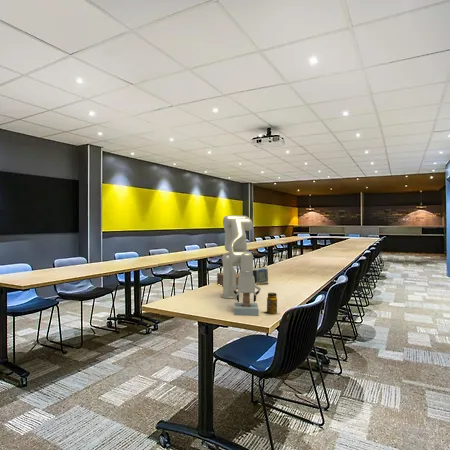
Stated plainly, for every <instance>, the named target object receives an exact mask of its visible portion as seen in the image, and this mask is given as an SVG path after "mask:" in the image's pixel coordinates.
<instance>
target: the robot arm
mask: <svg viewBox="0 0 450 450" xmlns="http://www.w3.org/2000/svg"><path fill="white" fill-rule="evenodd" d="M253 223H254V222H253V221H252V219H251V218H250V217H248V216H247V215H225V216H224V217H223V219H222V226H223V229H224V249H225V251H226V252H227V253H225V254H224V253H223V255H222V258H221V260H222V273H223V286H222V293H221V294H220V297H221V298H223V299H236V301H237V303H240V294H243V293H250V294H253V303H256V301H257V296H258V295H259V294H260V292H261V289H262V288H261V287H260V286H258V285H255V279H254V276H253V268H254V254H253V253H251V252H250V251H247V249H248V246H247V245H248V244H247V241H246V240H247V232H246V231H248V232H249V231H252V230H253V228H254V224H253ZM234 267H240V271H236V269H235V268H234ZM236 274H240V276H239V280H238V285H236ZM236 288H238V289H236ZM256 289H257V291H256Z"/></svg>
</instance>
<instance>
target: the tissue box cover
mask: <svg viewBox="0 0 450 450" xmlns="http://www.w3.org/2000/svg"><path fill="white" fill-rule="evenodd" d="M216 273H217V274H216V278H217V279H216V285H218V284H220V285H222V286H221V287H223V272H216ZM239 276H240V274H238V273H236V285H238V280H239ZM220 285H219V286H220ZM236 290H238V288H236Z"/></svg>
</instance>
